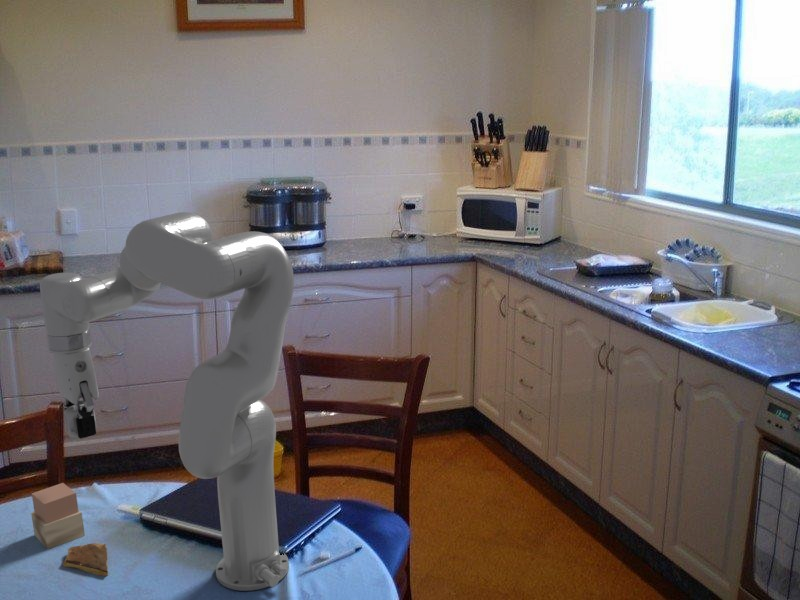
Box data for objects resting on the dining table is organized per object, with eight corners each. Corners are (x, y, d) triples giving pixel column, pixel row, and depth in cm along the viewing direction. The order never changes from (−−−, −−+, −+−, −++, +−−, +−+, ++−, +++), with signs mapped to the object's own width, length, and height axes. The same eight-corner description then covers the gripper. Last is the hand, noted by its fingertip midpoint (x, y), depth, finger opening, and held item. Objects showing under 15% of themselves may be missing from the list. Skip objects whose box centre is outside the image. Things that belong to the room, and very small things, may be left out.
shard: (108, 579, 152) (107, 570, 152) (62, 588, 150) (60, 579, 149) (107, 548, 162) (106, 540, 162) (64, 556, 160) (62, 548, 159)
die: (97, 434, 165) (94, 410, 163) (70, 440, 162) (66, 415, 161) (93, 425, 169) (90, 401, 168) (66, 431, 167) (62, 406, 165)
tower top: (78, 512, 165) (76, 492, 164) (47, 523, 161) (44, 504, 160) (65, 501, 169) (62, 482, 168) (34, 512, 165) (31, 493, 164)
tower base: (85, 536, 166) (81, 512, 165) (48, 550, 162) (44, 525, 160) (70, 522, 171) (67, 499, 170) (34, 535, 167) (31, 512, 165)
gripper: (106, 346, 156) (117, 439, 161) (74, 326, 170) (85, 412, 174) (64, 355, 152) (77, 451, 157) (34, 334, 165) (47, 422, 170)
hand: (81, 430), depth 165 cm, fingers closed on die, 5 cm apart
